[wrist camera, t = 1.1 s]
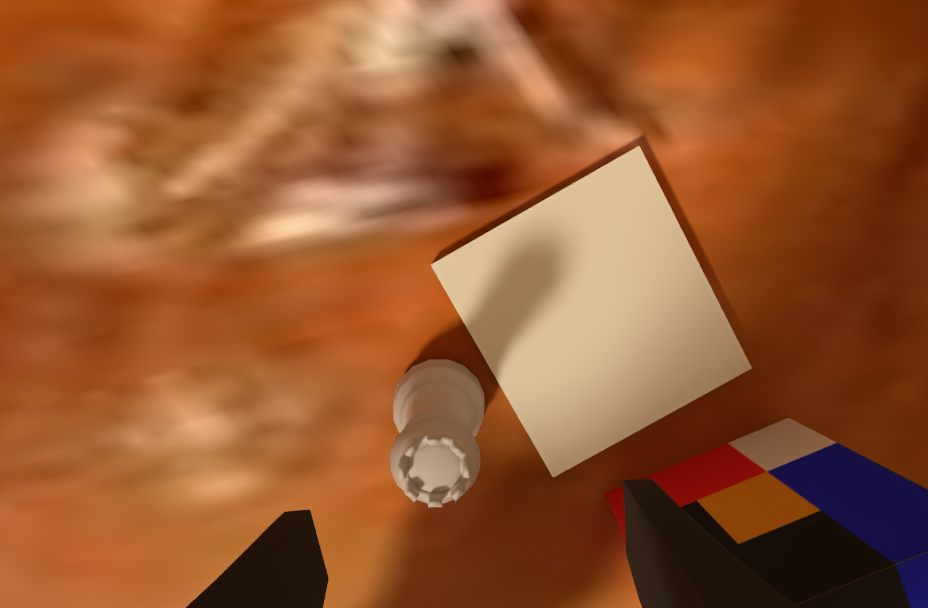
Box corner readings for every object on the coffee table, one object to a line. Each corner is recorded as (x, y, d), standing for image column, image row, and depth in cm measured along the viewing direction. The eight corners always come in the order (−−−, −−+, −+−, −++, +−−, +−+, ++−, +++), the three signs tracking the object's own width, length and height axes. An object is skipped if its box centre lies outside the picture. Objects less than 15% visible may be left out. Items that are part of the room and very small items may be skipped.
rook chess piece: (386, 436, 26) (358, 522, 18) (402, 348, 25) (380, 397, 17) (475, 451, 26) (486, 544, 18) (492, 365, 25) (512, 420, 17)
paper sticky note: (550, 472, 26) (553, 477, 25) (431, 264, 25) (430, 264, 24) (744, 365, 26) (751, 368, 25) (634, 148, 24) (639, 145, 24)
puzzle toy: (788, 417, 26) (995, 524, 16) (848, 585, 27) (1076, 781, 17) (604, 493, 26) (698, 644, 16) (672, 656, 27) (797, 890, 18)
